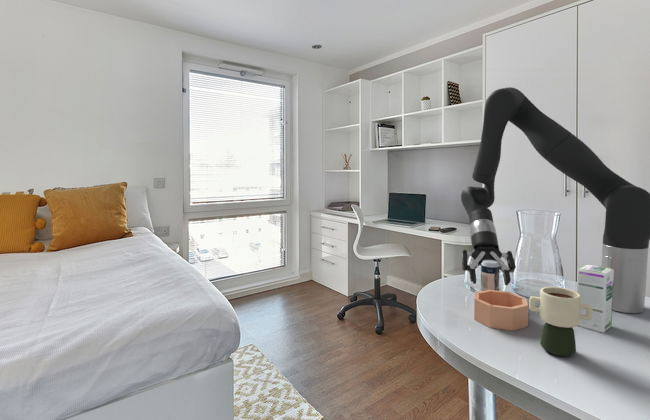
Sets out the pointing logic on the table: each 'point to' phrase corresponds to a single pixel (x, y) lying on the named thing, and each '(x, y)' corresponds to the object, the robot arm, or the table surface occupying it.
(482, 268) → the beer can
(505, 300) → the terracotta bowl
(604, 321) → the syrup box
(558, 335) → the character mug
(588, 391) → the table surface
